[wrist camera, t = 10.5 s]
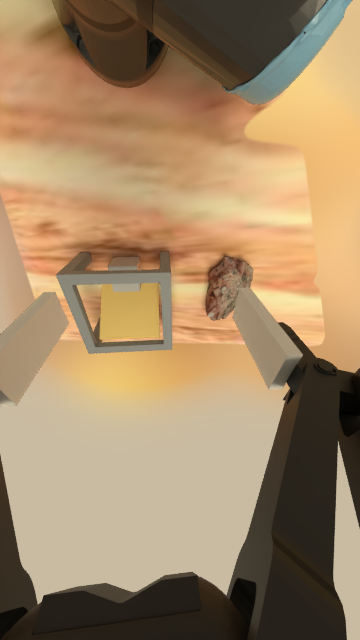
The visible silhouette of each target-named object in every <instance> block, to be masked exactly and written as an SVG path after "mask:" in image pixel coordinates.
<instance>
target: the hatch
mask: <svg viewBox="0 0 360 640" xmlns="http://www.w3.org/2000/svg"><path fill="white" fill-rule="evenodd" d="M154 337H160V333H159V297H158V283H142V284H141V290H140V291H135V292H113V287H112V284H102V294H101V316H100V338H99V339H100V340H109V339H131V338H154Z"/></svg>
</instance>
